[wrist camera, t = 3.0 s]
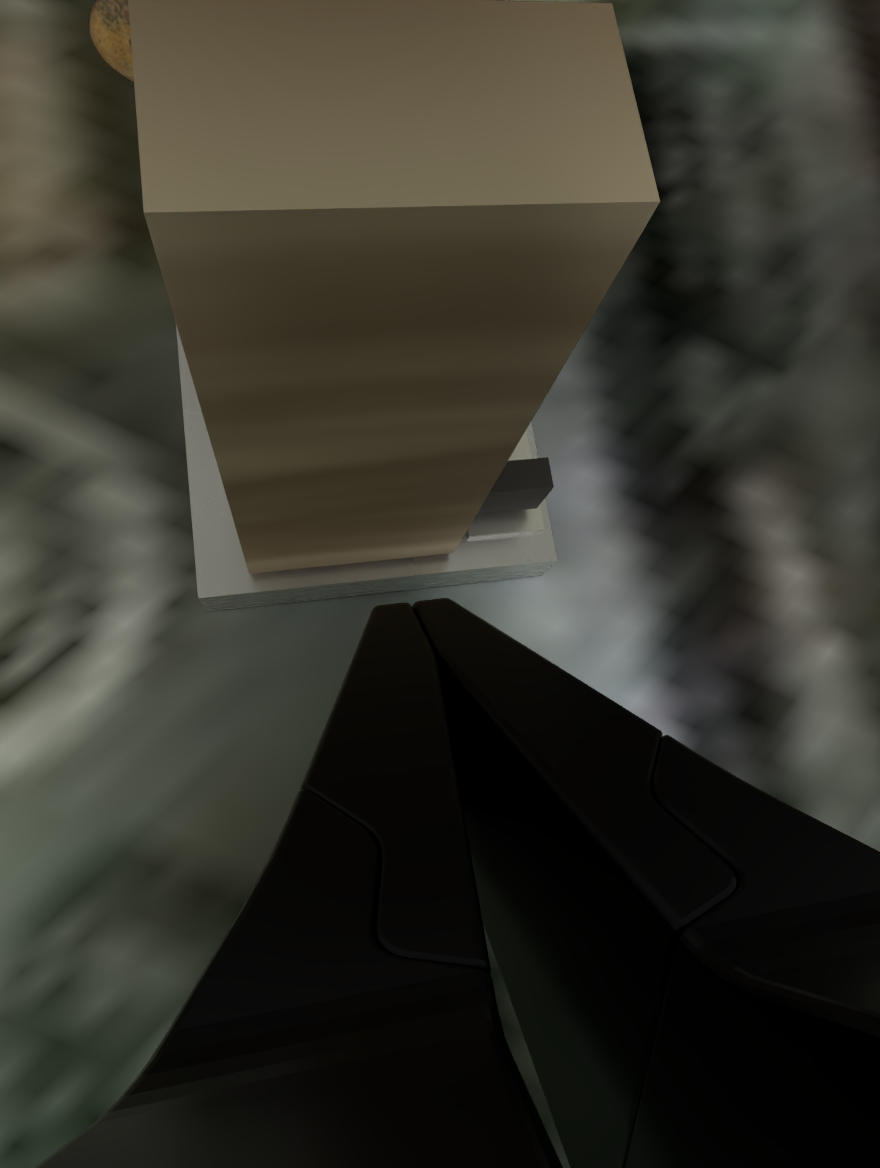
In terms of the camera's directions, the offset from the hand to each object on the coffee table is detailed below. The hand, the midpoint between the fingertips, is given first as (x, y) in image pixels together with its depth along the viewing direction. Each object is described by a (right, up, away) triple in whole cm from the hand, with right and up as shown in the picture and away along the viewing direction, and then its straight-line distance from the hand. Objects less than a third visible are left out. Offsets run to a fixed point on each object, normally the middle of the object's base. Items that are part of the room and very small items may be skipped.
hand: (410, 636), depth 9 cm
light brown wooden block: (-1, +2, +7) cm, 8 cm away
